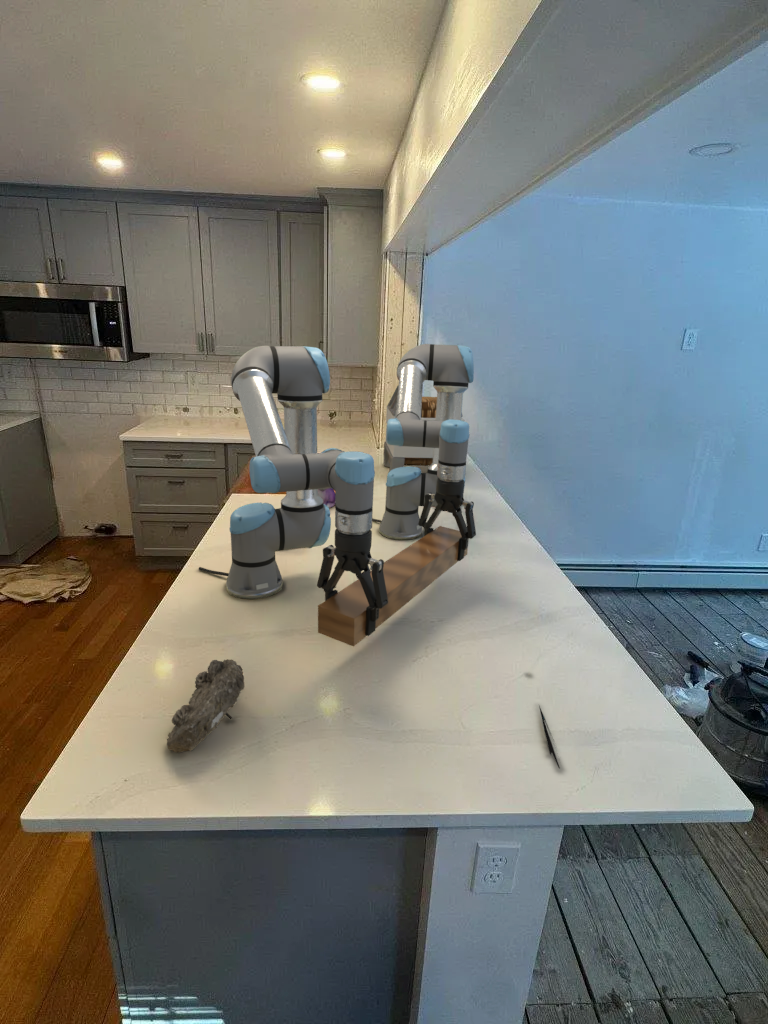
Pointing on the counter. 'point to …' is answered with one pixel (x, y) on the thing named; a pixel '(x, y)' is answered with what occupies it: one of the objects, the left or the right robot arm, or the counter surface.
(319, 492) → the figurine
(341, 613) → the wooden beam
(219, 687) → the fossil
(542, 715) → the feather
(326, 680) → the counter surface
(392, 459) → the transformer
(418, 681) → the counter surface
